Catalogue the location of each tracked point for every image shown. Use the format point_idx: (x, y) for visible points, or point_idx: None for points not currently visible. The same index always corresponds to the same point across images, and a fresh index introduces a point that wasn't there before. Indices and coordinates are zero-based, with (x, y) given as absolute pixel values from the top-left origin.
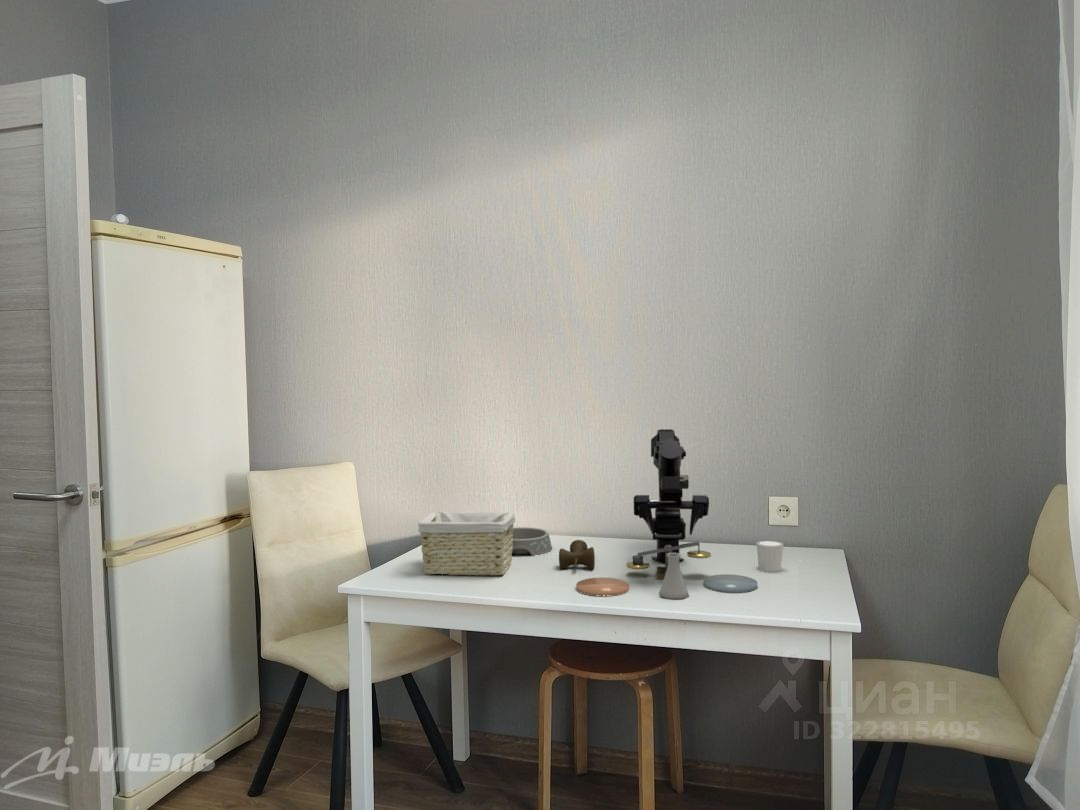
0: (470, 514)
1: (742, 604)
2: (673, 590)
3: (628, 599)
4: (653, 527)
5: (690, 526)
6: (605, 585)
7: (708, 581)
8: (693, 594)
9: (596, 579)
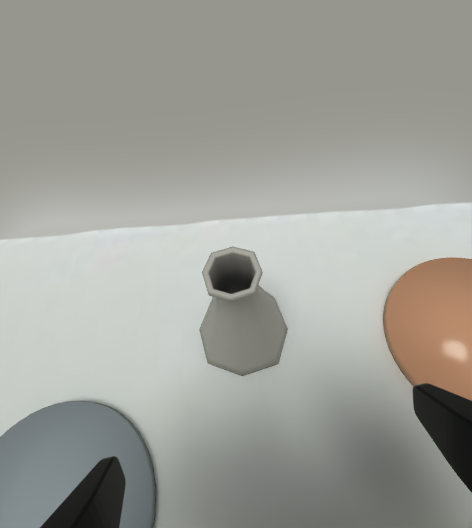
0: None
1: (67, 302)
2: (237, 288)
3: (349, 263)
4: (449, 404)
5: (83, 503)
6: (467, 325)
7: (132, 489)
8: (188, 355)
9: None
